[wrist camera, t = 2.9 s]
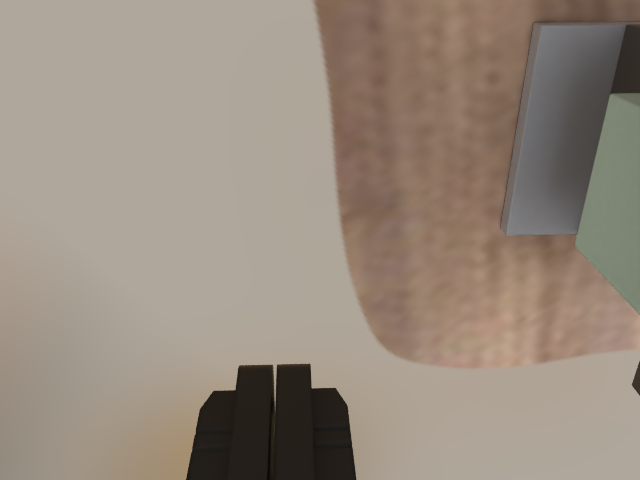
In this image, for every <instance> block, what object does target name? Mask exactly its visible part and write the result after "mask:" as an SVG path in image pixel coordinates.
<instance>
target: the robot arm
mask: <svg viewBox="0 0 640 480" xmlns="http://www.w3.org/2000/svg"><path fill="white" fill-rule="evenodd" d="M275 408H276V409H275ZM186 480H356V473H355V465H354V457H353V449H352V441H351V433H350V424H349V415H348V406H347V404H346V403H345V401H344V400H343V398H342V397H341V396H340V394H339V393H338V391H337V390H336V388H317V389H315V388H314V389H312V388H311V366H310V364H284V365H283V364H282V365H277V378H276V406H275V401H274V374H273V365H245V366H243V365H242V366H239V368H238V375H237V383H236V390H234V391H213V392H212V394H211V395H210V397H209V398H208V399H207V401H206V402H205V403H204V405H203V406H202V407H201V409H200V412H199V417H198V422H197V427H196V435H195V438H194V443H193V450H192V453H191V458H190V463H189V468H188V473H187V479H186Z"/></svg>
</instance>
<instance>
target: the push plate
mask: <svg viewBox="0 0 640 480" xmlns="http://www.w3.org/2000/svg"><path fill="white" fill-rule="evenodd" d="M575 247H576V248H577V249H578V250H579V251H580V252H581V253H582V255H583V256H584V257H585V258H586V259H587V260H588V261H589V262H590V263H591V264H592V265H593V266H594V267H595V268H596V269H597V270H598V271H599V272H600V273H601V275H602V276H603V277H604V278H605V279H606V280H607V281H608V282H609V283H610V284H611V285H612V286H613V287H614V288H615V289H616V290H617V291H618V292H619V293H620V295H621V296H622V297H623V298H624V299H625V300H626V301H627V302H628V303H629V304H630V305H631V306H632V307H633V308H634V309H635V310H636V311H637V312H638V314H639V315H640V93H619V94H610V97H609V101H608V106H607V110H606V114H605V118H604V123H603V127H602V131H601V136H600V140H599V144H598V148H597V153H596V157H595V161H594V165H593V170H592V174H591V178H590V182H589V187H588V191H587V195H586V200H585V204H584V208H583V212H582V217H581V221H580V225H579V229H578V234H577V238H576V242H575Z"/></svg>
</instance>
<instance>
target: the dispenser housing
mask: <svg viewBox="0 0 640 480" xmlns="http://www.w3.org/2000/svg"><path fill="white" fill-rule="evenodd" d="M619 93H640V22H535V23H534V25H533V31H532V37H531V43H530V49H529V55H528V62H527V68H526V74H525V80H524V86H523V92H522V98H521V104H520V111H519V117H518V123H517V129H516V135H515V141H514V147H513V154H512V160H511V166H510V172H509V178H508V184H507V190H506V196H505V203H504V209H503V215H502V221H501V227H500V228H501V229H502V231H503V232H504V233H505V235H507V236H510V235H552V234H578V229H579V225H580V221H581V217H582V212H583V208H584V204H585V200H586V195H587V191H588V187H589V182H590V178H591V174H592V170H593V165H594V161H595V157H596V153H597V148H598V144H599V140H600V136H601V131H602V127H603V123H604V118H605V114H606V110H607V106H608V101H609V97H610V94H619ZM632 386H633V387H634V389H635V390H636V391H637V392H638V394H639V395H640V362H639V365H638V368H637V371H636V374H635V377H634V380H633V383H632Z"/></svg>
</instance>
